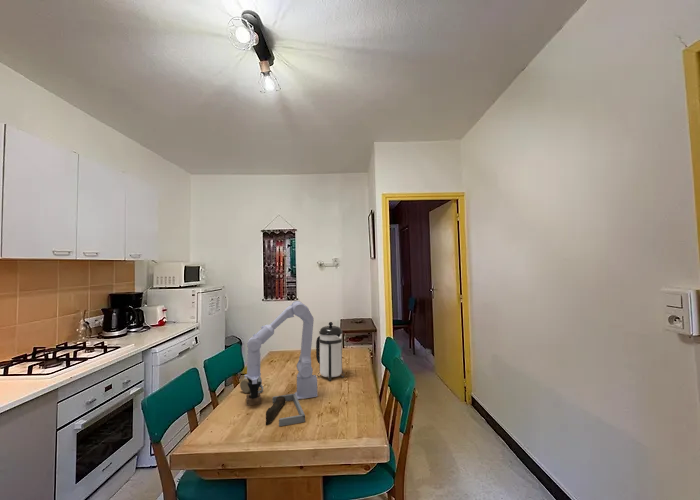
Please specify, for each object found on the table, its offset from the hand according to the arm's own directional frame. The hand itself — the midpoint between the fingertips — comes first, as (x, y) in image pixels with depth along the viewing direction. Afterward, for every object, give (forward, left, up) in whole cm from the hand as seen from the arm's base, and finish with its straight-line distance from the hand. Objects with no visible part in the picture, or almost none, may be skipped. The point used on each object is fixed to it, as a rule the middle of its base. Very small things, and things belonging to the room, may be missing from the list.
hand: (253, 394), depth 144 cm
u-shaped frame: (-13, +15, -3) cm, 20 cm away
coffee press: (-41, -20, -3) cm, 46 cm away
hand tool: (-8, +15, -4) cm, 18 cm away
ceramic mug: (0, -14, -3) cm, 14 cm away
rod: (0, 0, -3) cm, 3 cm away
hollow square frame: (0, 0, -3) cm, 3 cm away
